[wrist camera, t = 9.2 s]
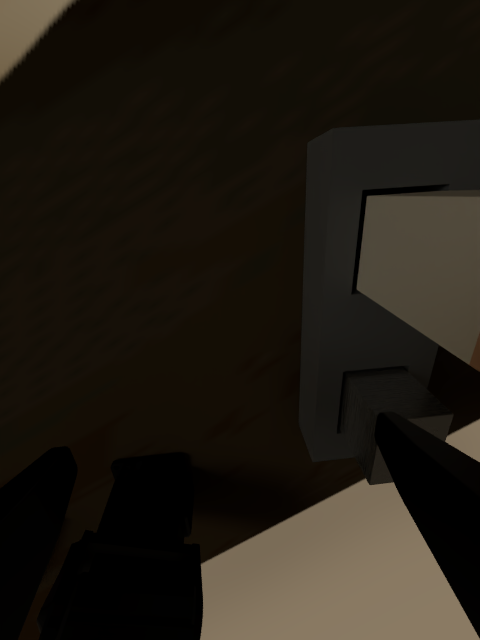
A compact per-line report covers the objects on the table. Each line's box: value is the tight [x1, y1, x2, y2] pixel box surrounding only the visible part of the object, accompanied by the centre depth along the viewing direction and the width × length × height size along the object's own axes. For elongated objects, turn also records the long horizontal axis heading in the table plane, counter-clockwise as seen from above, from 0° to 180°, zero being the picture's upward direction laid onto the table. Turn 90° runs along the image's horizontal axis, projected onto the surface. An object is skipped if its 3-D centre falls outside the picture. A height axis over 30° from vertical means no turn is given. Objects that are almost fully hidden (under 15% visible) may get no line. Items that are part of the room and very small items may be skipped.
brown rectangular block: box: [357, 190, 480, 372], centre depth 11 cm, size 4×5×9 cm
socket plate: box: [299, 120, 480, 462], centre depth 20 cm, size 8×22×4 cm, turn 4°
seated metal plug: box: [337, 366, 454, 485], centre depth 20 cm, size 4×5×8 cm
